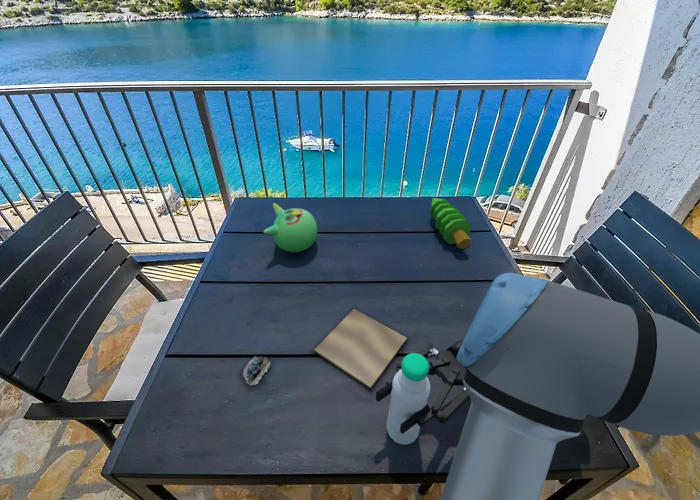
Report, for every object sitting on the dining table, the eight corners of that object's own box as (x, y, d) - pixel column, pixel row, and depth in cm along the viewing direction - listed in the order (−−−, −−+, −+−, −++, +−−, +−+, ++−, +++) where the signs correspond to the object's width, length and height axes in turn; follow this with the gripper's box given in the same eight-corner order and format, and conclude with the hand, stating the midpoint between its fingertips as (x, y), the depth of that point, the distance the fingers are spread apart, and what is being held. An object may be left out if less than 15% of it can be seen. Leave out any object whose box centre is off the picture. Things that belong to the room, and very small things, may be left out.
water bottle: (414, 451, 73) (432, 387, 57) (382, 438, 75) (390, 373, 59) (421, 419, 78) (439, 352, 62) (391, 408, 80) (401, 341, 64)
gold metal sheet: (370, 389, 84) (370, 387, 84) (314, 352, 93) (314, 349, 92) (406, 340, 96) (407, 337, 95) (353, 310, 104) (353, 308, 103)
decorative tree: (462, 227, 116) (428, 183, 138) (443, 253, 123) (414, 206, 145) (487, 234, 121) (451, 189, 143) (468, 258, 127) (436, 212, 149)
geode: (274, 358, 91) (273, 354, 90) (265, 387, 85) (264, 383, 84) (249, 356, 92) (247, 352, 90) (238, 384, 85) (236, 380, 84)
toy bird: (316, 261, 122) (313, 226, 112) (267, 260, 122) (261, 226, 113) (319, 231, 136) (317, 198, 127) (276, 230, 136) (271, 198, 127)
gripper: (504, 399, 72) (422, 468, 62) (436, 334, 85) (358, 383, 75) (515, 379, 67) (428, 450, 57) (441, 314, 80) (359, 363, 70)
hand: (389, 412), depth 66 cm, fingers closed on water bottle, 7 cm apart
